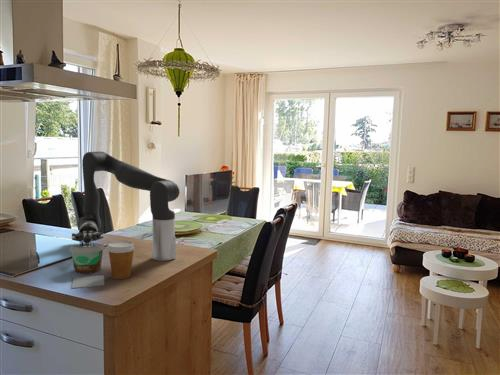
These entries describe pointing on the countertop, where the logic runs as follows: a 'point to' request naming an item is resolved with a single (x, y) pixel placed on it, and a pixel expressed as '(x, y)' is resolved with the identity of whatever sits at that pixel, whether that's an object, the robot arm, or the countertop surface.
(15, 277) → the countertop surface
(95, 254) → the food container
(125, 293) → the countertop surface
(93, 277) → the mat
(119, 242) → the disposable coffee cup
